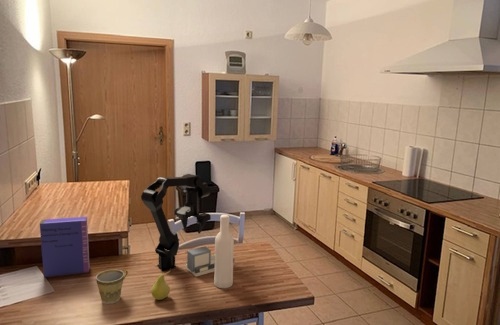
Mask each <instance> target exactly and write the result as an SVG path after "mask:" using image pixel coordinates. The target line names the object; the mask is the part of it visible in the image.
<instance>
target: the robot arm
mask: <svg viewBox="0 0 500 325" xmlns="http://www.w3.org/2000/svg"><path fill="white" fill-rule="evenodd" d="M182 186H185V188H184V190H183V191H182V192H183V193H185V196H186V197H185V200H186V201H185V202H184V205H183V206H180V207H177V208H175V209H174V215H175V216H176V217H178V219H179V220H180V221H181V224H182V227H183V229H184V230H186V229H187V227H188V219H189V218H191V217H192V218H193V217H194V218H196V224H197V233H198V234H201V233H202V230H203V228H204V226H205V225H206V223H207V222H208V221H211V218H212V217H211V214H210V213H207V212H201V209H199V205H201V201H199V199H202V198H204V197H208V196H210V194H211V188H210V186H208V183H207V182H203V181H202V179H201V176H200V175H198V174H197V175H195V174H192V173H186V174H183V175H182V176H171V177H170V176H168V177H163V176H160V177H158V178H156V180H155V181H154V182H151V184H149V185H148V186H147V187H146V188H145V189H144V190H143V192H142V193H141V195H140V199H141V201H142V203H143V204H144V205H145V206H146V207H147V208H148V209H149V211H150V213H151V215H152V218H153V221H154V223H155V225H156V227H157V230H158V234H159V238H158V242H159V243H158V244H157V246H156V247H155V249H154V251H155V254H158V264H157V267H158V268H159V270H161V271H162V272H165V271H170V270H172V269H176V268H177V267H176V256H177V254H178V250H179V247H180V238H179V237H178V236H179V235H178V234H177V232H173V231H171V228H170V226H169V222H168V220H167V217H166V215H165V212H164V209H163V204H164V198H165V196H166V195H167V191H168V188H169V187H170V188H171V187H182ZM159 188H160V190H159V191H158V189H159Z"/></svg>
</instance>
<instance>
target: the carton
mask: <svg viewBox="0 0 500 325" xmlns="http://www.w3.org/2000/svg"><path fill="white" fill-rule="evenodd" d="M211 251H212V250H211V249H210V248H209V247H207V246H201V247H198V248H197V247H196V248H193V249H189V250H187V258H186V259H187V260H186V264H187V268H189V269H190V270H191V271H192V272H194V271H195V268H199V267H202V266H206V265H209V264H211V255H212V254H211V253H212V252H211Z"/></svg>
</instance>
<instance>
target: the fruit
mask: <svg viewBox="0 0 500 325" xmlns="http://www.w3.org/2000/svg"><path fill="white" fill-rule="evenodd" d="M169 273H171V270H168V271H167V272H165V273H161V274H160V275H159V276H158V277H157V279H156V281H155V282H154V283H153V285H152V286H151V295H152V297H153V298H154V299H155V300H158V301H162V300H164V299H165V298H167V297H168V296H169V294H170V292H171V287H170V285H169V284H168V283H167V282H166V281H165V280H166V279H165V276H166V274H169Z"/></svg>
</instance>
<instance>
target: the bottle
mask: <svg viewBox="0 0 500 325" xmlns="http://www.w3.org/2000/svg"><path fill="white" fill-rule="evenodd" d="M230 219H231V218H230V215H228V214H222V215H220V219H219V222H220V226H219V227H220V229H219V232H218V233H216V235H215V236H216V237H215V239H214V254H215V271H214V273H213V274H214V276H213V278H214V279H213V282H214V286H215V287H217V289H218V288H219V289H229V288H230V287H232V286H233V283H234V266H233V258H234V250H235V249H234V248H235V247H234V245H235V240H234V236H233V234H232V233H231V232H230Z"/></svg>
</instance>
